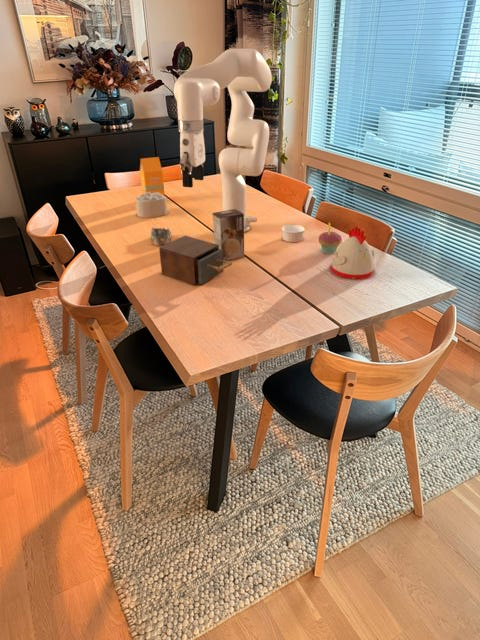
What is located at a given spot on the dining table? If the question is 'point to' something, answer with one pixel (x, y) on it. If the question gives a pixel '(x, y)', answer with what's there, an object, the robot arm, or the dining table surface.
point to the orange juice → (151, 175)
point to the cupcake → (329, 241)
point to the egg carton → (160, 236)
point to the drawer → (210, 265)
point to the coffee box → (229, 233)
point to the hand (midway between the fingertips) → (193, 183)
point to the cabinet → (183, 258)
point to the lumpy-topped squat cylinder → (151, 205)
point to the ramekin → (292, 233)
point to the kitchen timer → (353, 257)
